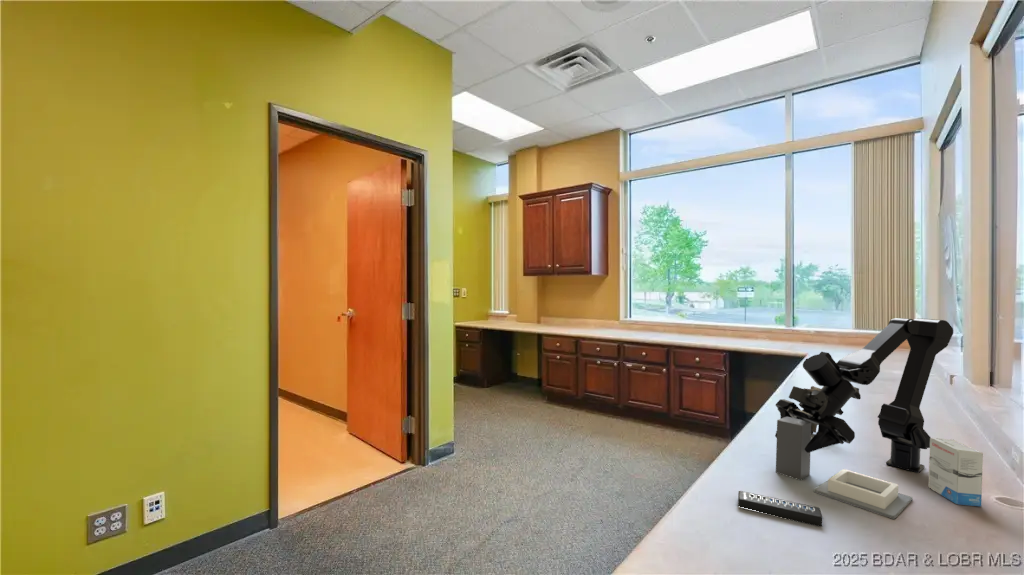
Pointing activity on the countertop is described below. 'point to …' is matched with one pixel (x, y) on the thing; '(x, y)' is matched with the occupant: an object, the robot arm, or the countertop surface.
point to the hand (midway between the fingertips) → (790, 444)
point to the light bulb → (813, 426)
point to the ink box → (955, 471)
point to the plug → (793, 447)
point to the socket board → (865, 493)
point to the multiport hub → (781, 508)
